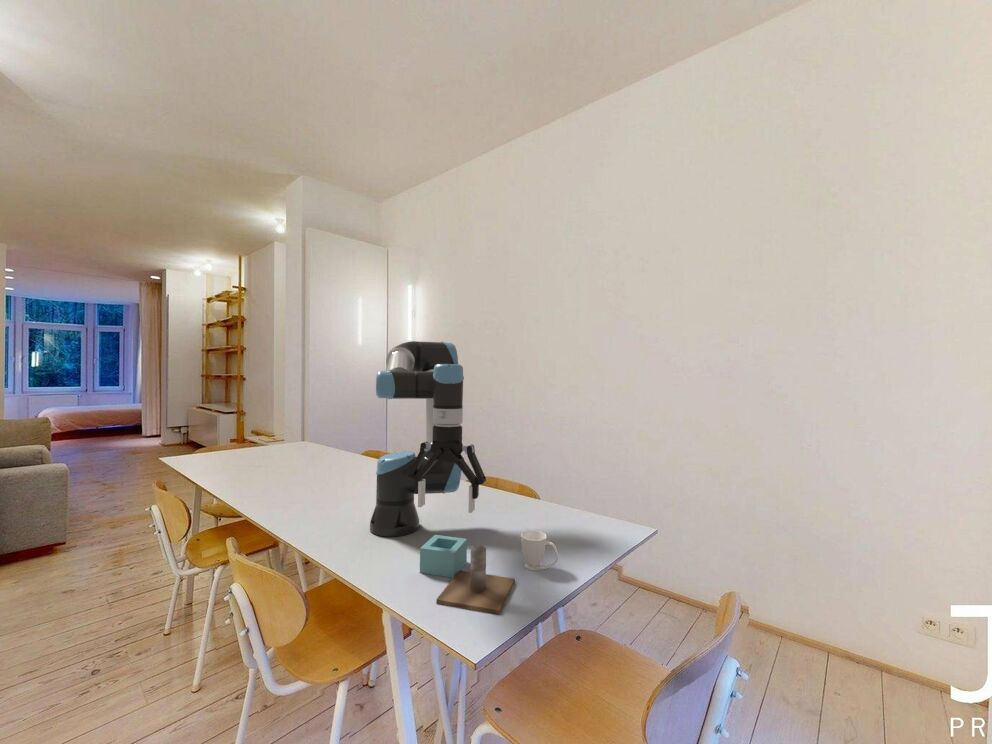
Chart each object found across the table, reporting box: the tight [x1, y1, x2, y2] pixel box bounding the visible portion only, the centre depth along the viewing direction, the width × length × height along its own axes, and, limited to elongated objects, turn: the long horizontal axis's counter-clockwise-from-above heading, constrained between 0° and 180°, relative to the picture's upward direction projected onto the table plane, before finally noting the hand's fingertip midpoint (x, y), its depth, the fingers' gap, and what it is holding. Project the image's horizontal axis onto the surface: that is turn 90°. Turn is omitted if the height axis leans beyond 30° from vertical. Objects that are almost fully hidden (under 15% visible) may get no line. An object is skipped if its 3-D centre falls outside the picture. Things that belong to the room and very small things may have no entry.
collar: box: [419, 534, 468, 579], centre depth 107 cm, size 9×9×6 cm
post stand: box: [435, 544, 516, 615], centre depth 95 cm, size 14×14×10 cm
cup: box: [520, 530, 559, 571], centre depth 108 cm, size 7×10×8 cm
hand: (446, 508), depth 107 cm, fingers open, 13 cm apart
